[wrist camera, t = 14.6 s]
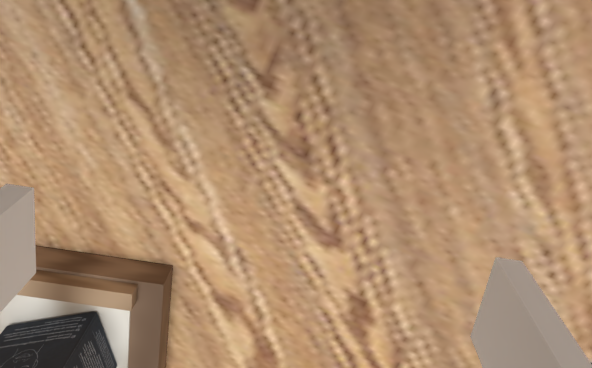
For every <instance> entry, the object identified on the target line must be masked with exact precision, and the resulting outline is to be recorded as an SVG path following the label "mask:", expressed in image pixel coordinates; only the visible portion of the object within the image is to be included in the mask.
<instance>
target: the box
mask: <svg viewBox="0 0 592 368" xmlns="http://www.w3.org/2000/svg"><path fill="white" fill-rule="evenodd" d="M116 367H117V362H116V360H115V357H114V354H113V352H112V350H111V347H110V344H109V342H108V339H107V337H106V334H105V331H104V328H103V326H102V324H101V321H100V319H99V316H98V314H97V312H88V313H82V314H76V315H69V316H63V317H57V318H51V319H44V320H38V321H32V322H26V323H19V324H13V325H8V326H7V327H5V329H4V330H3V331H2V333H1V334H0V368H116Z"/></svg>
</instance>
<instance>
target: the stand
mask: <svg viewBox="0 0 592 368" xmlns="http://www.w3.org/2000/svg"><path fill="white" fill-rule="evenodd" d="M172 269H173V266H172V265H165V264H158V263H151V262H144V261H137V260H130V259H123V258H116V257H109V256H102V255H95V254H88V253H81V252H75V251H68V250H61V249H54V248H47V247H40V246H36V274H35V275H34V276H33V277H32V278H31V279H30V280H29V281H28V282H27V284H26V285H25V286H24V287H23V288H22V289H21V290H20V291H19V292H18V294H17V295H16V296H15V297H14V298H13V299H12V300H11V301H10V302H9V304H8V305H7V306H6V307H5V308H4V309H3V310H2V311H1V312H0V334H1V333H2V331H3V330H4V329H5V327H7V326H8V325H13V324H19V323H26V322H32V321H38V320H44V319H51V318H57V317H63V316H69V315H76V314H82V313H88V312H97V314H98V316H99V319H100V321H101V324H102V326H103V328H104V331H105V334H106V337H107V339H108V342H109V344H110V347H111V350H112V352H113V354H114V357H115V360H116V362H117V367H116V368H165V367H166V353H167V339H168V325H169V311H170V297H171V283H172Z"/></svg>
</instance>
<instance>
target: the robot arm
mask: <svg viewBox="0 0 592 368" xmlns="http://www.w3.org/2000/svg"><path fill="white" fill-rule="evenodd" d="M35 274H36V246H35V208H34V188H32V187H25V186H19V185H12V184H5V185H4V186H3V187H1V188H0V312H1V311H2V310H3V309H4V308H5V307H6V306H7V305H8V304H9V302H10V301H11V300H12V299H13V298H14V297H15V296H16V295H17V294H18V292H19V291H20V290H21V289H22V288H23V287H24V286H25V285H26V284H27V282H28V281H29V280H30V279H31V278H32V277H33V276H34V275H35ZM470 337H471V339H472V342H473V344H474V347H475V349H476V352H477V354H478V357H479V359H480V362H481V364H482V367H483V368H592V363H590V361H589V360H588V358H587V357H586V355H585V354H584V352H583V351H582V349H581V348H580V346H579V345H578V343H577V342H576V340H575V339H574V337H573V336H572V334H571V333H570V331H569V330H568V328H567V327H566V325H565V324H564V322H563V321H562V320H561V318H560V317H559V315H558V314H557V312H556V311H555V309H554V308H553V306H552V305H551V303H550V302H549V300H548V299H547V297H546V296H545V294H544V293H543V291H542V290H541V288H540V287H539V285H538V284H537V282H536V281H535V279H534V278H533V276H532V275H531V273H530V272H529V271H528V269H527V268H526V266H525V265H524V263H523V262H522V261H518V260H511V259H505V258H498V257H496V258H495V261H494V264H493V267H492V270H491V273H490V277H489V280H488V283H487V286H486V289H485V292H484V295H483V299H482V302H481V305H480V308H479V311H478V314H477V317H476V321H475V324H474V327H473V330H472V333H471V336H470Z"/></svg>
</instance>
